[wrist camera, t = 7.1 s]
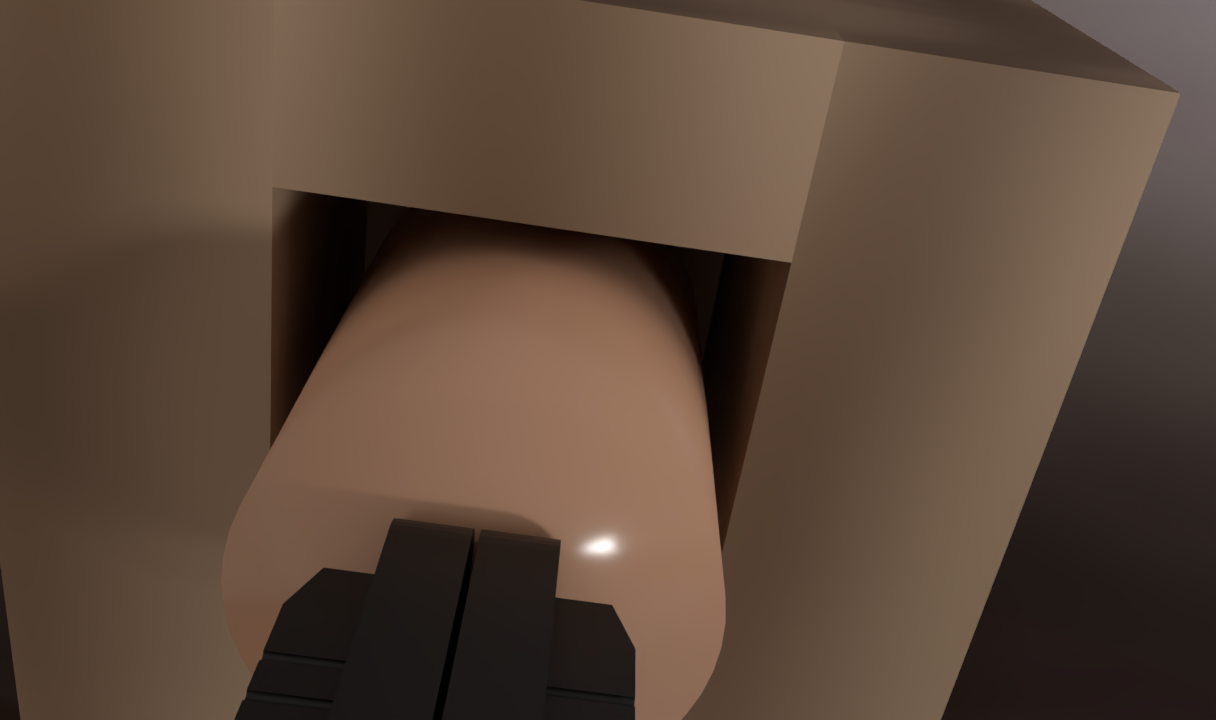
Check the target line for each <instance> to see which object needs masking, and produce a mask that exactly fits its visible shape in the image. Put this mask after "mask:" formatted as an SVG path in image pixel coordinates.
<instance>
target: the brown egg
mask: <svg viewBox="0 0 1216 720" xmlns="http://www.w3.org/2000/svg"><path fill="white" fill-rule="evenodd" d="M394 518H399V519H407V520H414V521H422V522H429V523H437V524H444V525H452V526H459V527H467V528H474V529H475V537H474V548H473V557H472V565H471V574H470V580H471V575H472V570H473V565H474V560H475V556H476V551H477V546H478V541H479V536H480V532H481V529H484V530H492V531H499V532H507V533H514V534H522V535H529V536H537V537H544V538H552V539H559V540H561V546H560V556H559V566H558V576H557V587H556V598H564V599H571V600H579V601H587V602H594V603H602V604H610V605H613V607H614V609H615V611H616V613H617V615H618V617H619V619H620V621H621V622H622V624H623V626H624V628H625V630H626V632H627V634H628V636H629V638H630V639H631V641H632V643H633V645H634V647H635V649H636V659H635V703H634V707H635V720H681V719H682V718H683V717H684V716H685V715H686V714H687V713H688V711H689V710H690V709H691V707H692V706H693V705H694V703H695V702H696V701H697V699H698V698H699V697H700V695H701V694H702V692H703V690H704V688H705V686H706V684H707V683H708V681H709V679H710V677H711V675H712V673H713V671H714V668H715V665H716V662H717V659H718V656H719V653H720V650H721V647H722V641H723V635H724V629H725V623H726V603H725V586H724V576H723V566H722V556H721V546H720V536H719V525H718V515H717V505H716V495H715V485H714V474H713V464H712V454H711V444H710V434H709V424H708V413H707V403H706V393H705V383H704V373H703V363H702V352H701V342H700V332H699V322H698V312H697V305H696V299H695V293H694V289H693V286H692V283H691V280H690V276H689V273H688V271H687V269H686V266H685V264H684V262H683V260H682V258H681V256H680V254H679V252H678V251H677V249H676V248H675V246H673V245H667V244H660V243H653V242H646V241H639V240H632V239H626V238H619V237H612V236H605V235H598V234H591V233H585V232H578V231H571V230H564V229H557V228H550V227H544V226H537V225H530V224H523V223H516V222H509V221H503V220H496V219H489V218H482V217H475V216H468V215H462V214H455V213H448V212H441V211H434V210H427V209H420V208H414V207H411V208H410V209H409V210H408V211H407V212H406V213H405V214H404V215H403V216H402V217H401V218H400V219H399V221H398V222H397V223H396V224H395V225H394V226H393V227H392V229H391V230H390V232H389V233H388V235H387V236H386V238H385V240H384V241H383V243H382V244H381V246H380V248H379V250H378V251H377V253H376V255H375V257H374V259H373V261H372V262H371V264H370V266H369V268H368V270H367V272H366V274H365V275H364V277H363V279H362V281H361V283H360V285H359V286H358V288H357V290H356V292H355V294H354V296H353V298H352V299H351V301H350V303H349V305H348V307H347V309H346V311H345V312H344V314H343V316H342V318H341V320H340V322H339V323H338V325H337V327H336V329H335V331H334V333H333V335H332V336H331V338H330V340H329V342H328V344H327V346H326V347H325V349H324V351H323V353H322V355H321V357H320V359H319V360H318V362H317V364H316V366H315V368H314V370H313V371H312V373H311V375H310V377H309V379H308V381H307V383H306V384H305V386H304V388H303V390H302V392H301V394H300V396H299V397H298V399H297V401H296V403H295V405H294V407H293V408H292V410H291V412H290V414H289V416H288V418H287V420H286V421H285V423H284V425H283V427H282V429H281V431H280V432H279V434H278V436H277V438H276V440H275V442H274V444H273V445H272V447H271V449H270V451H269V453H268V455H267V457H266V458H265V460H264V462H263V464H262V466H261V468H260V469H259V471H258V473H257V475H256V477H255V479H254V481H253V482H252V484H251V486H250V488H249V490H248V492H247V493H246V495H245V497H244V499H243V501H242V503H241V505H240V507H239V509H238V511H237V514H236V516H235V518H234V520H233V523H232V525H231V527H230V530H229V533H228V537H227V542H226V546H225V550H224V554H223V563H222V578H221V584H222V594H223V605H224V610H225V614H226V618H227V622H228V625H229V629H230V633H231V635H232V638H233V640H234V642H235V645H236V647H237V649H238V652H239V654H240V656H241V658H242V660H243V661H244V663H245V665H246V666H247V668H248V670H249V671H250V673H251V675H252V676H253V674H254V671H255V669H256V666H257V664H258V662H259V660H262V656H263V650H264V647H265V645H266V643H267V640H268V638H269V636H270V633H271V631H272V628H273V626H274V624H275V621H276V619H277V617H278V614H279V612H280V609H281V607H282V605H283V603H284V602H285V601H287V600H288V599H289V598H290V597H291V596H292V595H293V594H294V593H296V592H297V591H298V590H299V589H300V588H301V587H302V586H303V585H305V584H306V583H307V582H308V581H309V580H310V579H311V578H312V577H313V576H315V575H316V574H317V573H318V572H319V571H320V570H321V569H322V568H332V569H339V570H347V571H355V572H362V573H370V574H374V573H375V570H376V567H377V564H378V561H379V558H380V555H381V552H382V549H383V546H384V543H385V539H386V536H387V533H388V530H389V527H390V525H391V522H392V520H393V519H394ZM469 585H470V583H469Z"/></svg>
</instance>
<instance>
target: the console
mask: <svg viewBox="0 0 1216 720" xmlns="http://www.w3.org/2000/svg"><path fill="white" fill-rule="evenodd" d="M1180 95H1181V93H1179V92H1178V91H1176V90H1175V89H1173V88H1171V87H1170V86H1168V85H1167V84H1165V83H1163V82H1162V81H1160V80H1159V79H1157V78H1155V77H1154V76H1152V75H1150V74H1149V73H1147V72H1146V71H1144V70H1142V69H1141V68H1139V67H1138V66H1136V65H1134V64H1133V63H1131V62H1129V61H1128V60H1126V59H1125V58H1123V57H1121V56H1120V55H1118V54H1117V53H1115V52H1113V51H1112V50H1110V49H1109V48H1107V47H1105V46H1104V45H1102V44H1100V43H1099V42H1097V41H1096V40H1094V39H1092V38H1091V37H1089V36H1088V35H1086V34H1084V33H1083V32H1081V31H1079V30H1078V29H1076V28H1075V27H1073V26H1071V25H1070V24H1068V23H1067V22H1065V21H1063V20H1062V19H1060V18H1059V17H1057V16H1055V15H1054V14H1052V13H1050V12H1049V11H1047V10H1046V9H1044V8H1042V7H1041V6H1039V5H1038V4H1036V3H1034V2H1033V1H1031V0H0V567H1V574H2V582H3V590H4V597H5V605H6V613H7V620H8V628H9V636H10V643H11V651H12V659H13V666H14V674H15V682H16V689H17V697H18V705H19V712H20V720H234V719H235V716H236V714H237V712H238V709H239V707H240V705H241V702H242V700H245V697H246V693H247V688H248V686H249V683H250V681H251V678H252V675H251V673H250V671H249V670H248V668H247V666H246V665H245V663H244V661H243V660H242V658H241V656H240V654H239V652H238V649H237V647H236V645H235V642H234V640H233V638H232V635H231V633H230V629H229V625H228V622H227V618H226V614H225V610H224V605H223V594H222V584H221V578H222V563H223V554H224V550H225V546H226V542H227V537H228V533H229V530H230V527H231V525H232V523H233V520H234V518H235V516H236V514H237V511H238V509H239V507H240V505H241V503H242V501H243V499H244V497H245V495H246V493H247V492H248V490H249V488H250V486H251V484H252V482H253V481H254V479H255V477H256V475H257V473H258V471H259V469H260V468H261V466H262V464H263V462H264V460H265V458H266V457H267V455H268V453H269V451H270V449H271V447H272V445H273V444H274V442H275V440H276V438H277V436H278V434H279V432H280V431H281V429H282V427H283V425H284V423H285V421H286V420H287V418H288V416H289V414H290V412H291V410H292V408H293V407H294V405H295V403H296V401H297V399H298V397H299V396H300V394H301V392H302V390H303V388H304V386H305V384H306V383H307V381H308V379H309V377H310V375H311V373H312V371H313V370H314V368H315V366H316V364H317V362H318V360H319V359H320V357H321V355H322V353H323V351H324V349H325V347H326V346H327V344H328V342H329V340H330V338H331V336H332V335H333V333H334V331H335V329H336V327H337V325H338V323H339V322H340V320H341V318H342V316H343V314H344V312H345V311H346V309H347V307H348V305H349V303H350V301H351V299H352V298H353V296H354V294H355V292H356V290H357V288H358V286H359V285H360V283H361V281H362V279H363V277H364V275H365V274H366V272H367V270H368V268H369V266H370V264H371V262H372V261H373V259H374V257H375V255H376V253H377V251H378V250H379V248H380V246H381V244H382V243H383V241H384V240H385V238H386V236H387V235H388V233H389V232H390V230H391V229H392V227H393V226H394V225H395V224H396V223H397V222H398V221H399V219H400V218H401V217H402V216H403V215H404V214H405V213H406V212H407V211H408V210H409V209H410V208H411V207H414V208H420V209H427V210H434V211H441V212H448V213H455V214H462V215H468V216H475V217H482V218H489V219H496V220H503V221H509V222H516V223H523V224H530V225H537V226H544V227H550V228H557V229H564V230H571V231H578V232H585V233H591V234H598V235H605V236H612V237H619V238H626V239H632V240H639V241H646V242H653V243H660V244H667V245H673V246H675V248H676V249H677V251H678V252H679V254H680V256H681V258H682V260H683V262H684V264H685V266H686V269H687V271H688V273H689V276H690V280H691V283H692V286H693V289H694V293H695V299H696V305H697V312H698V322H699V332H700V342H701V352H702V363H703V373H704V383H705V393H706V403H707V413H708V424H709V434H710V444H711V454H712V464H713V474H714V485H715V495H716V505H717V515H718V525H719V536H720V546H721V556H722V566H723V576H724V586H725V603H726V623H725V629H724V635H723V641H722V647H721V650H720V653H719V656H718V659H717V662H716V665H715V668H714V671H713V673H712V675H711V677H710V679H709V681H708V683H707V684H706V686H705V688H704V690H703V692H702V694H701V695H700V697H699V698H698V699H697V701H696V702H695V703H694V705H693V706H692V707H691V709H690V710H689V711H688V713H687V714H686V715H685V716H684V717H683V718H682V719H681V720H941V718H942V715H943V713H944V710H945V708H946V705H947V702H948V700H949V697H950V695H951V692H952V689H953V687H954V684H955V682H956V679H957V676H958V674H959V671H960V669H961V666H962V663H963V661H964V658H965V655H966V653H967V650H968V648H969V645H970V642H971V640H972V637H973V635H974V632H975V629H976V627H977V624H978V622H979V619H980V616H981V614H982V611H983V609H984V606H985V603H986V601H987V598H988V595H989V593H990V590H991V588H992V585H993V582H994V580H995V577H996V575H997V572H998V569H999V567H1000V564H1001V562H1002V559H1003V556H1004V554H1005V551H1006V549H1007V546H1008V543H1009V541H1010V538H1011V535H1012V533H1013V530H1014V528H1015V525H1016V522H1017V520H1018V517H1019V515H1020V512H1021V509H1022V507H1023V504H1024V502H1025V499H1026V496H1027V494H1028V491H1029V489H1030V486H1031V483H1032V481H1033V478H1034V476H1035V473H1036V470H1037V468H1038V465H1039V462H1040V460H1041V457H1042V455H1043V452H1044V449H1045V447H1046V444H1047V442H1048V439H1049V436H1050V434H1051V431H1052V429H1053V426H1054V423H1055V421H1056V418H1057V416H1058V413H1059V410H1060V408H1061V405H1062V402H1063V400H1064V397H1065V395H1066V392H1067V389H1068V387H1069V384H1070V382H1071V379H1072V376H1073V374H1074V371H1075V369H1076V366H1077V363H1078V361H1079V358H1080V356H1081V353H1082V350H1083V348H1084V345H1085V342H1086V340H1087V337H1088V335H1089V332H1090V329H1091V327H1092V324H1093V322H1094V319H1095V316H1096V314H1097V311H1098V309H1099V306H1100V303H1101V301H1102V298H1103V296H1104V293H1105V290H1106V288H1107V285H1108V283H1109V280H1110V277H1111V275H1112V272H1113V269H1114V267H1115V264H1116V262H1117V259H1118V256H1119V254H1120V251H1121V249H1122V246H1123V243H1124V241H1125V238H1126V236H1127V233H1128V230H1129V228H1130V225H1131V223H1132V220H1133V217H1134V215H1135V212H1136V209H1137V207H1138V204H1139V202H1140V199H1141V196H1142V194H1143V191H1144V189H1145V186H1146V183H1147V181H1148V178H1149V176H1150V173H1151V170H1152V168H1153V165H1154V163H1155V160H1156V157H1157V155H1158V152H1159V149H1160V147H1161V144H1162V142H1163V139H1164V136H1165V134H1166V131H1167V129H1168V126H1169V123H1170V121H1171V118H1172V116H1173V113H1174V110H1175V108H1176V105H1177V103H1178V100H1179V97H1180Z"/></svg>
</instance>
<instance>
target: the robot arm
mask: <svg viewBox="0 0 1216 720" xmlns="http://www.w3.org/2000/svg"><path fill="white" fill-rule="evenodd" d="M474 537H475V529H474V528H467V527H459V526H452V525H444V524H437V523H429V522H422V521H414V520H407V519H399V518H394V519H393V520H392V522H391V525H390V527H389V530H388V533H387V536H386V539H385V543H384V546H383V549H382V552H381V555H380V558H379V561H378V564H377V567H376V570H375V573H374V574H370V573H362V572H355V571H347V570H339V569H332V568H322V569H321V570H320V571H319V572H318V573H317V574H316V575H315V576H313V577H312V578H311V579H310V580H309V581H308V582H307V583H306V584H305V585H303V586H302V587H301V588H300V589H299V590H298V591H297V592H296V593H294V594H293V595H292V596H291V597H290V598H289V599H288V600H287V601H285V602H284V603H283V605H282V607H281V609H280V612H279V614H278V617H277V619H276V621H275V624H274V626H273V628H272V631H271V633H270V636H269V638H268V640H267V643H266V645H265V647H264V650H263V656H262V660H259V662H258V664H257V666H256V669H255V671H254V674H253V676H252V678H251V681H250V683H249V686H248V688H247V693H246V697H245V700H242V702H241V705H240V707H239V709H238V712H237V714H236V716H235V719H234V720H635V707H634V703H635V659H636V649H635V647H634V645H633V643H632V641H631V639H630V638H629V636H628V634H627V632H626V630H625V628H624V626H623V624H622V622H621V621H620V619H619V617H618V615H617V613H616V611H615V609H614V607H613V605H610V604H602V603H594V602H587V601H579V600H571V599H564V598H556V587H557V576H558V566H559V556H560V546H561V540H559V539H552V538H544V537H537V536H529V535H522V534H514V533H507V532H499V531H492V530H484V529H481V532H480V536H479V541H478V546H477V551H476V556H475V560H474V565H473V570H472V575H471V580H470V574H471V565H472V557H473V548H474ZM469 583H470V585H469Z"/></svg>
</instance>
